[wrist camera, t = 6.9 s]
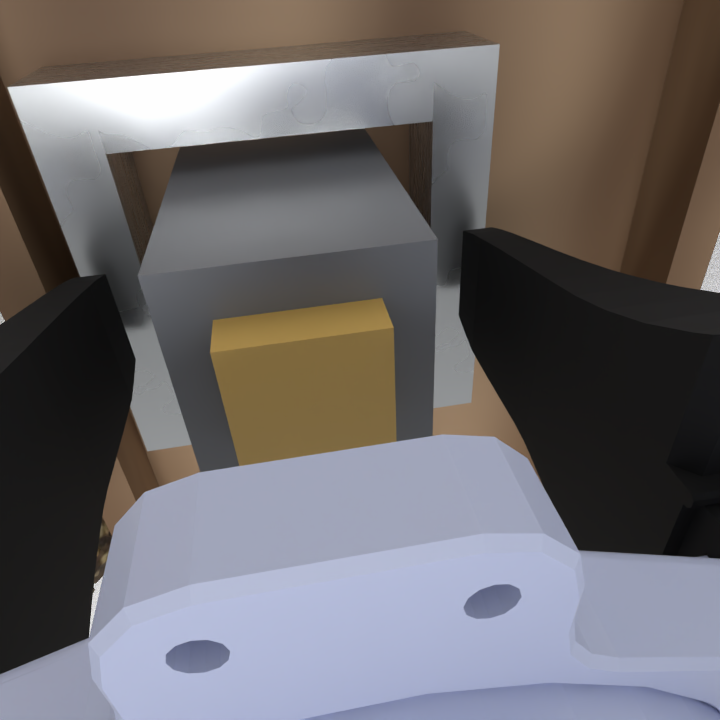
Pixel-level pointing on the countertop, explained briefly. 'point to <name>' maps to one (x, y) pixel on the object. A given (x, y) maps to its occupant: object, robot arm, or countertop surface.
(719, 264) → the countertop surface
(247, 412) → the block
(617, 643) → the robot arm
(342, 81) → the socket
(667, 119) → the tray
